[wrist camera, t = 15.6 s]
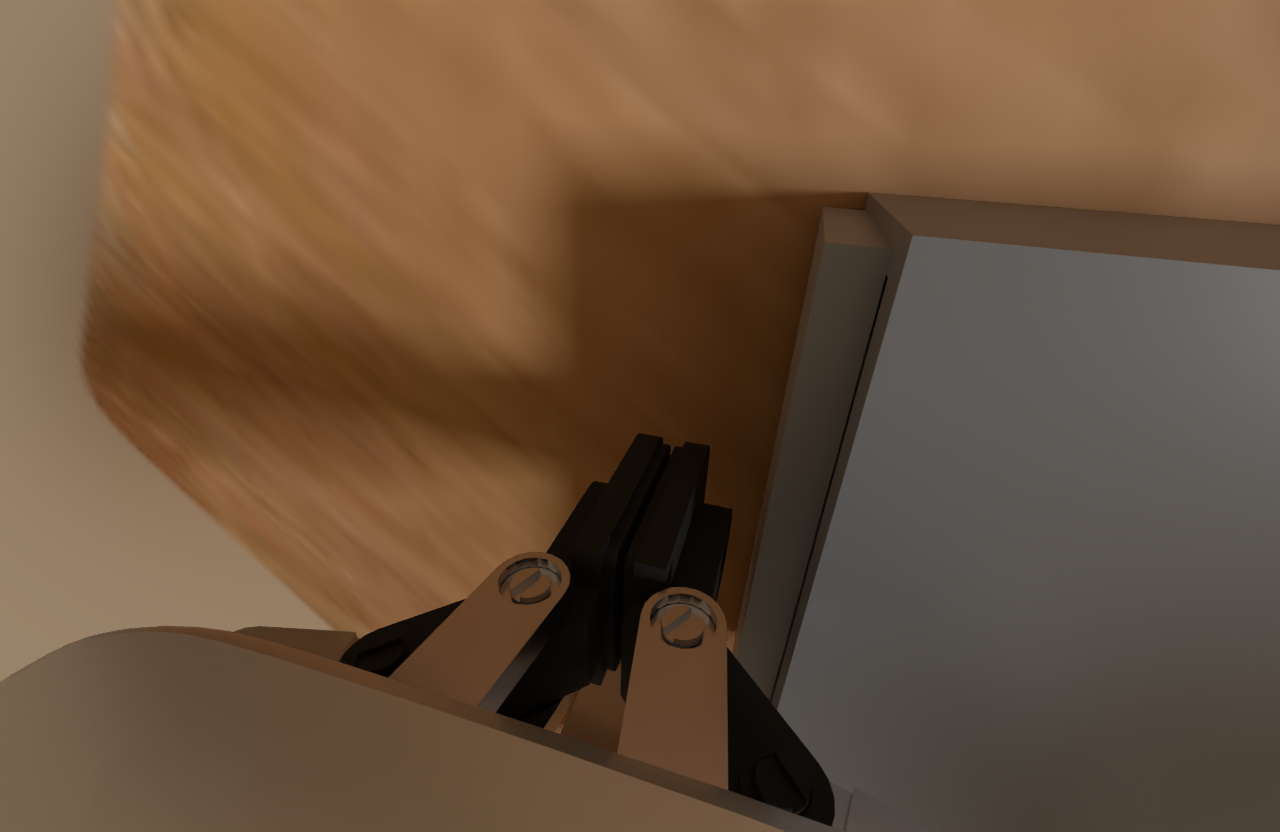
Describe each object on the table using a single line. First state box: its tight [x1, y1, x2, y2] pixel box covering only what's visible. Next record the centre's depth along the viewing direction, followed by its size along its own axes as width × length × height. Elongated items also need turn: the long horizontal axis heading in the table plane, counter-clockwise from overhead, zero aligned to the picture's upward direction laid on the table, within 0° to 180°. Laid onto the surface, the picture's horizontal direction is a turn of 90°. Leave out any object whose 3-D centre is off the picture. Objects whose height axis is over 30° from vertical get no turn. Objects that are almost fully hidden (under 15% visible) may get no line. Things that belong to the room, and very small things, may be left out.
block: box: [561, 663, 625, 753], centre depth 18 cm, size 5×5×5 cm
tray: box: [733, 207, 893, 702], centre depth 10 cm, size 13×12×4 cm
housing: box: [771, 192, 1280, 832], centre depth 9 cm, size 13×13×6 cm
